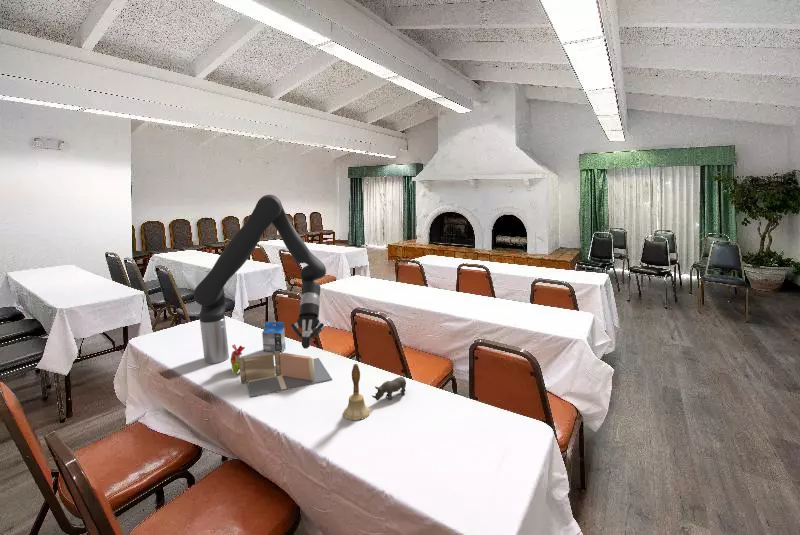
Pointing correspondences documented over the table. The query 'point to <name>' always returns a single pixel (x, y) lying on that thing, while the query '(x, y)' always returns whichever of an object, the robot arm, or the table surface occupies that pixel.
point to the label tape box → (274, 337)
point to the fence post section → (259, 366)
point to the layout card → (286, 381)
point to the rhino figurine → (391, 388)
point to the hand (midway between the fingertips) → (305, 347)
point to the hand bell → (356, 399)
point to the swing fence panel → (297, 366)
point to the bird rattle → (236, 358)
